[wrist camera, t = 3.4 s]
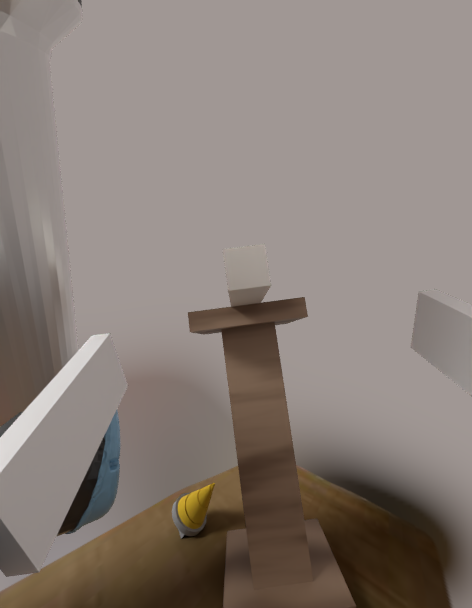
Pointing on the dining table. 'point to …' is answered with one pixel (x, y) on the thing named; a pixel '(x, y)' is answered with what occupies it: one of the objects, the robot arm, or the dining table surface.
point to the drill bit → (192, 511)
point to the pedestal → (268, 471)
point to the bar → (247, 274)
